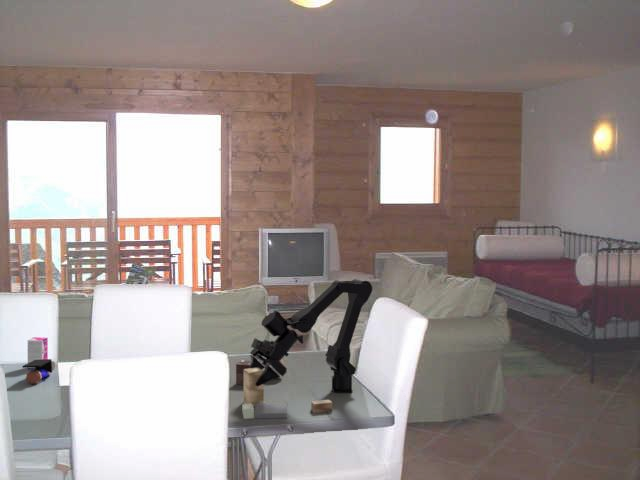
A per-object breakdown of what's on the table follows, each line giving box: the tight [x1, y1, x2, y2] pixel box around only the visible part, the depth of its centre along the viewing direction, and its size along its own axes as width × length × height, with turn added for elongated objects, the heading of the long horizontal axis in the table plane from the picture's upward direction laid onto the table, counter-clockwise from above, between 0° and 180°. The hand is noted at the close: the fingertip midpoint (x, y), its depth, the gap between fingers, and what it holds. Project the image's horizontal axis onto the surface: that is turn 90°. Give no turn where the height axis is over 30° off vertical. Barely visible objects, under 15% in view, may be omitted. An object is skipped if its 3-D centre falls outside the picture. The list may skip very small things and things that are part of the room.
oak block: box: [243, 367, 265, 407], centre depth 228 cm, size 5×5×11 cm
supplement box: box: [27, 336, 49, 371], centre depth 270 cm, size 6×6×12 cm
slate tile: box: [253, 402, 288, 419], centre depth 218 cm, size 10×10×2 cm
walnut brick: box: [310, 399, 333, 414], centre depth 221 cm, size 6×3×3 cm, turn 107°
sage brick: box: [241, 403, 255, 420], centre depth 216 cm, size 6×3×3 cm, turn 12°
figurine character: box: [22, 358, 56, 385], centre depth 254 cm, size 7×8×15 cm
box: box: [235, 360, 251, 385], centre depth 252 cm, size 6×6×7 cm
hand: (251, 381), depth 227 cm, fingers open, 9 cm apart
